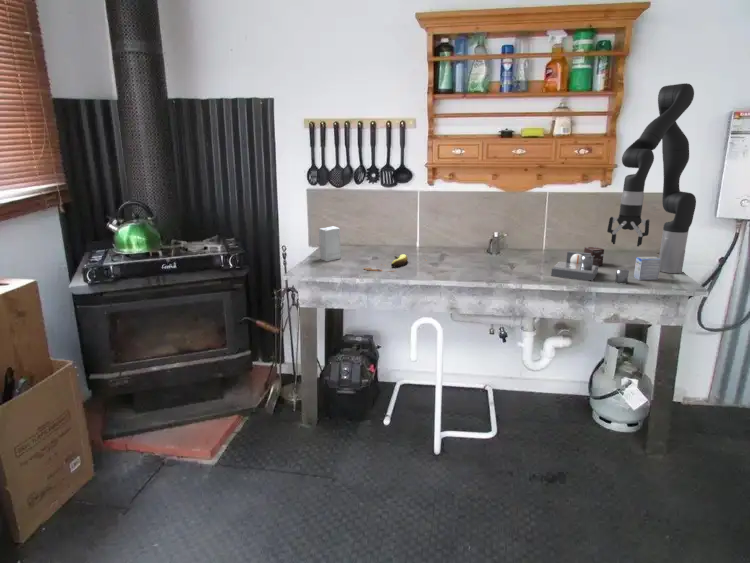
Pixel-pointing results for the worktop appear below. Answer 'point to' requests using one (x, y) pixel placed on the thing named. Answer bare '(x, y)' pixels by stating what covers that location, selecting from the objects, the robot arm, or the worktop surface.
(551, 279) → the worktop surface
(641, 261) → the medicine box
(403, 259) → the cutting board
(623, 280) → the spacer
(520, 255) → the worktop surface
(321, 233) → the skincare box
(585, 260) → the spacer
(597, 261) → the box
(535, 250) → the worktop surface
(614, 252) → the worktop surface
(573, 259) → the dial scale
